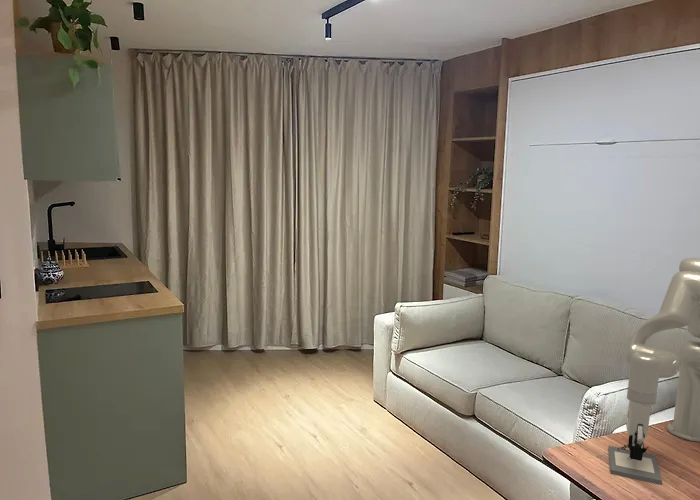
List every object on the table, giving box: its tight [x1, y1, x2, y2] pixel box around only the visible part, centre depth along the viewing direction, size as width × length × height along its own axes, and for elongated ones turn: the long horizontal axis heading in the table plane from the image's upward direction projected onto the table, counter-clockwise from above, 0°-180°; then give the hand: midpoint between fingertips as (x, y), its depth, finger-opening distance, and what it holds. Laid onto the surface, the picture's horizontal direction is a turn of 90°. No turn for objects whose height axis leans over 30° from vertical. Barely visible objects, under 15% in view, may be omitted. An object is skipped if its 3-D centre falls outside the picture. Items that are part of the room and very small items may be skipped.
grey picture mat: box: [607, 445, 663, 486], centre depth 167 cm, size 16×13×1 cm
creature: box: [617, 438, 650, 460], centre depth 166 cm, size 8×5×8 cm
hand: (634, 453), depth 166 cm, fingers closed on creature, 6 cm apart
